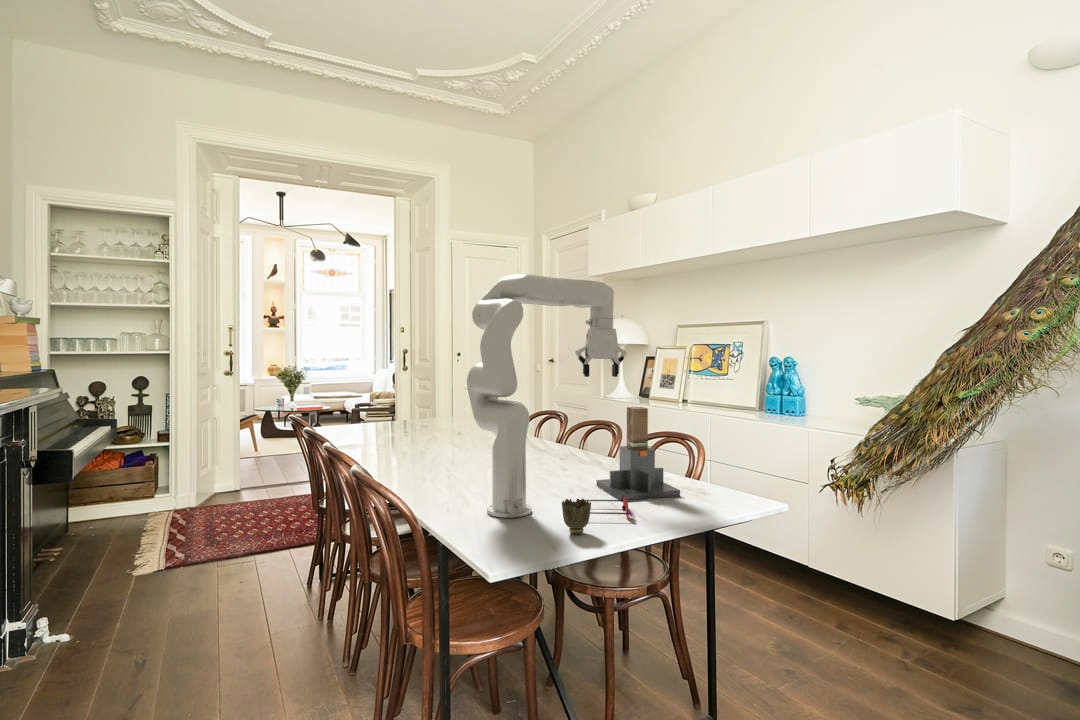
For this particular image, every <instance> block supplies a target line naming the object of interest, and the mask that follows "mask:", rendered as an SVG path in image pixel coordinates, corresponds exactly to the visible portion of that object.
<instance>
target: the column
mask: <svg viewBox="0 0 1080 720" xmlns="http://www.w3.org/2000/svg"><path fill="white" fill-rule="evenodd" d="M648 411H649V408H647V407H642V406H628V407H626V446H627V448H629V449H631V450H642V449H648V447H649V443H648V436H649V434H648V433H649V432H648V431H649V428H648V427H649V426H648V425H649V418H648V417H649V416H648V415H649V412H648Z"/></svg>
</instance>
